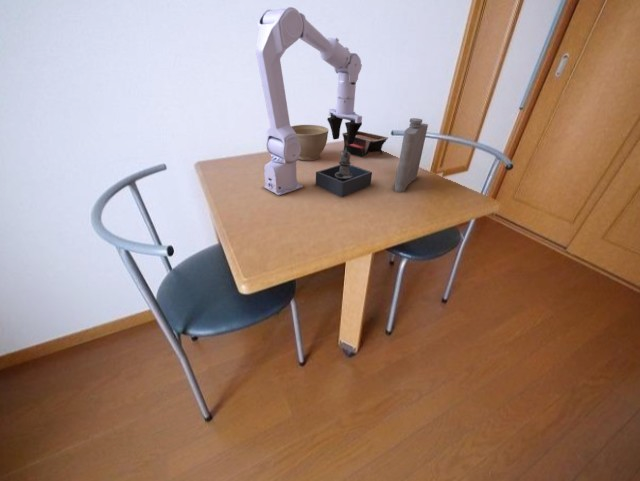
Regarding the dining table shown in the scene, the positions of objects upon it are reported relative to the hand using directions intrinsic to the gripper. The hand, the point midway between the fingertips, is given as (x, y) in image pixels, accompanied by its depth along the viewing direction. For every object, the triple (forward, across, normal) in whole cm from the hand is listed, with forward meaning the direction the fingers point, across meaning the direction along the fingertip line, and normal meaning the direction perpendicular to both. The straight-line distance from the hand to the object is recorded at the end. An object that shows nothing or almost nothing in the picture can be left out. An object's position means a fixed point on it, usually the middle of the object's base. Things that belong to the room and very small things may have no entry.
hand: (342, 141), depth 99 cm
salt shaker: (+10, -11, +9) cm, 18 cm away
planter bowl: (+10, +19, +2) cm, 21 cm away
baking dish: (+10, +11, -21) cm, 26 cm away
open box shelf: (+10, -11, +9) cm, 17 cm away
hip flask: (+10, -21, -10) cm, 26 cm away
